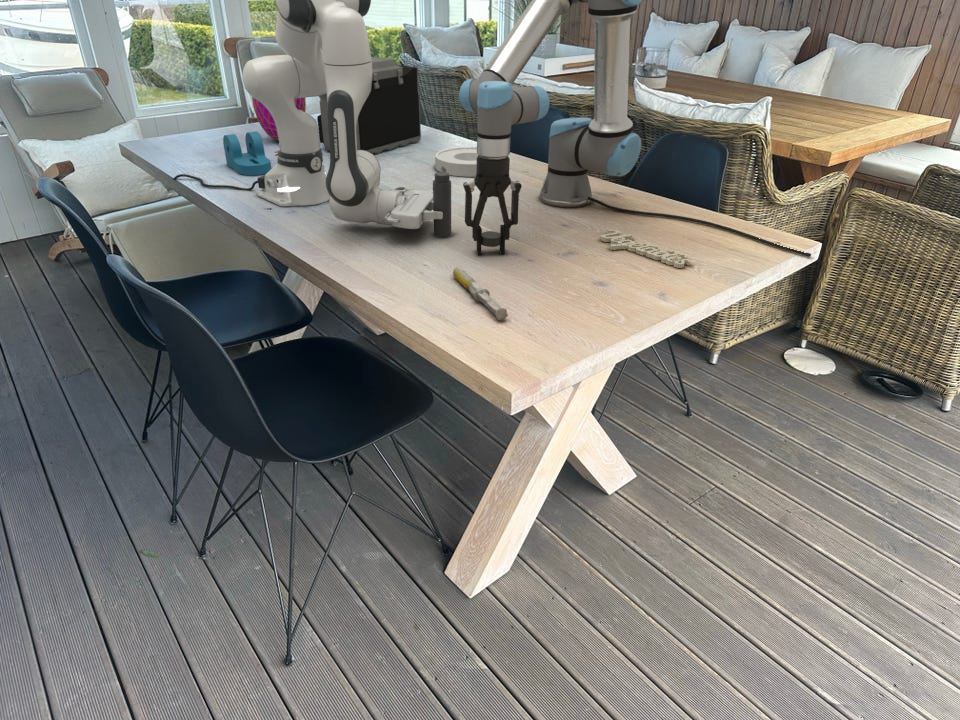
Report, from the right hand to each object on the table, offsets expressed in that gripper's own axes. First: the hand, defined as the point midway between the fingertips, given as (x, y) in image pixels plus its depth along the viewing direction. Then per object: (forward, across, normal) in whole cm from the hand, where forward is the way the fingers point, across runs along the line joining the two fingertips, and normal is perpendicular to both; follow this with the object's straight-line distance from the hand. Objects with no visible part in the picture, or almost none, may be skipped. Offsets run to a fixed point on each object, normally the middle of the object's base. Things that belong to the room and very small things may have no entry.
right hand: (490, 252), depth 166 cm
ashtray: (0, -6, -78) cm, 78 cm away
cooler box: (0, +26, -112) cm, 115 cm away
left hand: (-6, +9, -14) cm, 18 cm away
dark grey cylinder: (0, +10, -14) cm, 18 cm away
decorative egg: (0, +58, -126) cm, 139 cm away
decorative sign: (0, -37, +4) cm, 37 cm away
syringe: (0, +7, +24) cm, 25 cm away
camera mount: (0, +66, -85) cm, 108 cm away
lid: (-4, 0, 0) cm, 4 cm away
